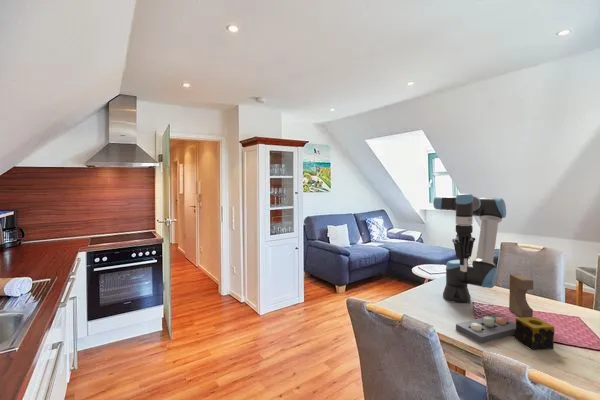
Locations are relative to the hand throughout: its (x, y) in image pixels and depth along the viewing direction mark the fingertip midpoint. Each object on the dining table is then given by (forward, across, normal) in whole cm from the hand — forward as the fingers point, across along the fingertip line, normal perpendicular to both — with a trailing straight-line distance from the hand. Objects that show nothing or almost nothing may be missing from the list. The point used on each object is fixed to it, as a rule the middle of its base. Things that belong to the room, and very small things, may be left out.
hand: (463, 271), depth 158 cm
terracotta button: (+26, +11, -12) cm, 31 cm away
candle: (+27, +11, -28) cm, 40 cm away
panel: (+26, +3, -12) cm, 29 cm away
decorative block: (+27, +35, -5) cm, 44 cm away
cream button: (+26, -5, -12) cm, 29 cm away
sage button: (+24, +3, -12) cm, 27 cm away
